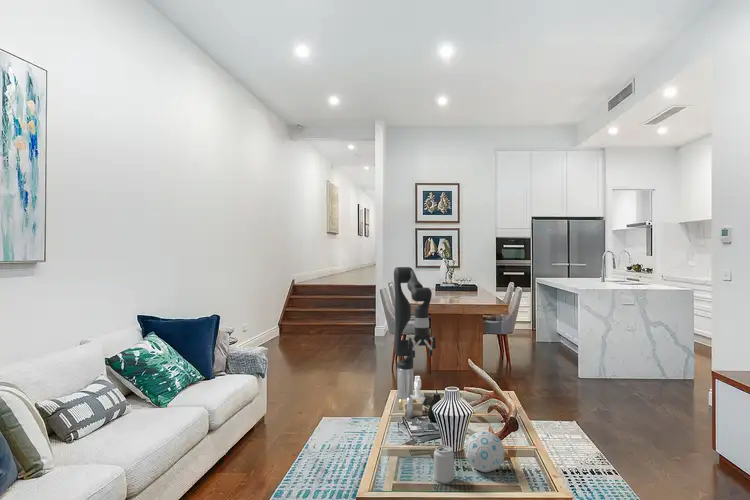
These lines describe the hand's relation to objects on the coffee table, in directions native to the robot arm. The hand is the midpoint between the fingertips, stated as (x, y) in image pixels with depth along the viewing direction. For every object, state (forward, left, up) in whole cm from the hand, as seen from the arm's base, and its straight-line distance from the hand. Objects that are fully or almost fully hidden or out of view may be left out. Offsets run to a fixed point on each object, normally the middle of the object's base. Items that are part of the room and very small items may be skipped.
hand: (421, 357), depth 270 cm
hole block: (-3, -5, -30) cm, 30 cm away
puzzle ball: (+68, +11, -30) cm, 75 cm away
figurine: (-19, +1, -30) cm, 36 cm away
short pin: (-10, -9, -30) cm, 33 cm away
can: (+74, -7, -30) cm, 80 cm away
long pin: (+4, -7, -30) cm, 31 cm away
